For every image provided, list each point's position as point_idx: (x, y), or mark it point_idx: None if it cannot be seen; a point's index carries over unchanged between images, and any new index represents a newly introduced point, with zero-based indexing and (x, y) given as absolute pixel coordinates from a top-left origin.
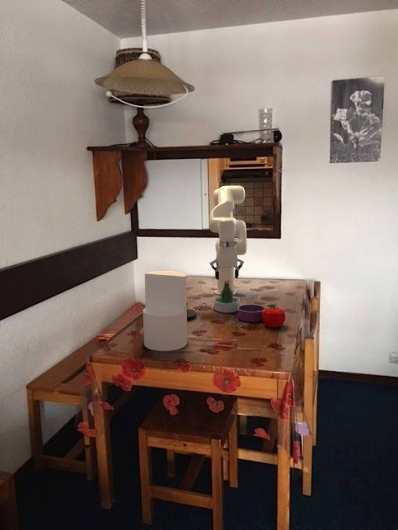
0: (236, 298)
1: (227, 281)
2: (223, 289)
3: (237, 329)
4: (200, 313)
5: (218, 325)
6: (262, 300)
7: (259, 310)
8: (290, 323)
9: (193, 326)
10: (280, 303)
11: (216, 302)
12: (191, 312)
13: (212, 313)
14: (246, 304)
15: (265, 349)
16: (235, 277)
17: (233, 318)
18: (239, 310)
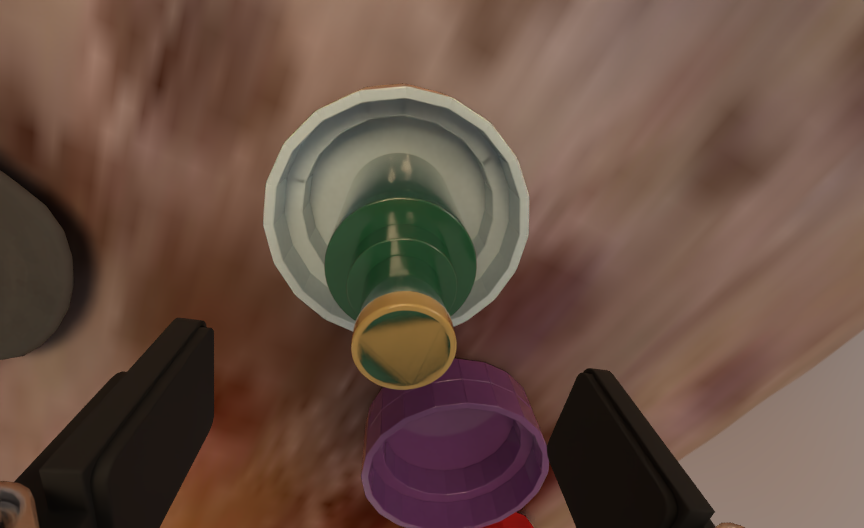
0: (518, 211)
1: (401, 374)
2: (348, 289)
3: (293, 518)
4: (146, 209)
5: (214, 455)
6: (827, 85)
7: (522, 431)
8: (565, 520)
9: (53, 429)
10: (839, 231)
11: (272, 253)
12: (22, 283)
13: (247, 248)
14: (475, 405)
15: None
16: (565, 416)
17: (349, 388)
18: (362, 478)
